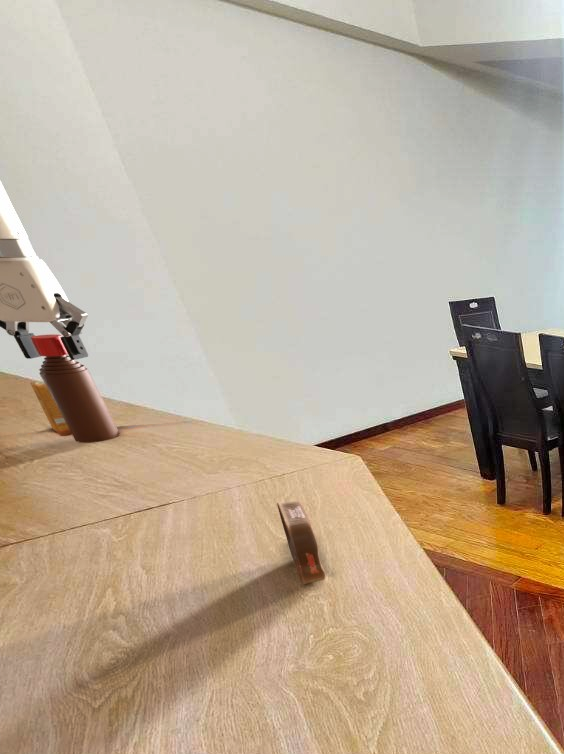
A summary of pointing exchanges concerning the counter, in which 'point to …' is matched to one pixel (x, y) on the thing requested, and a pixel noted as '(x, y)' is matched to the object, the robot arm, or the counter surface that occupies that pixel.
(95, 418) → the sauce bottle
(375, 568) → the counter surface
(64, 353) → the cap
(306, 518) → the brown curved block
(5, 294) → the robot arm
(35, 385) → the supplement box
